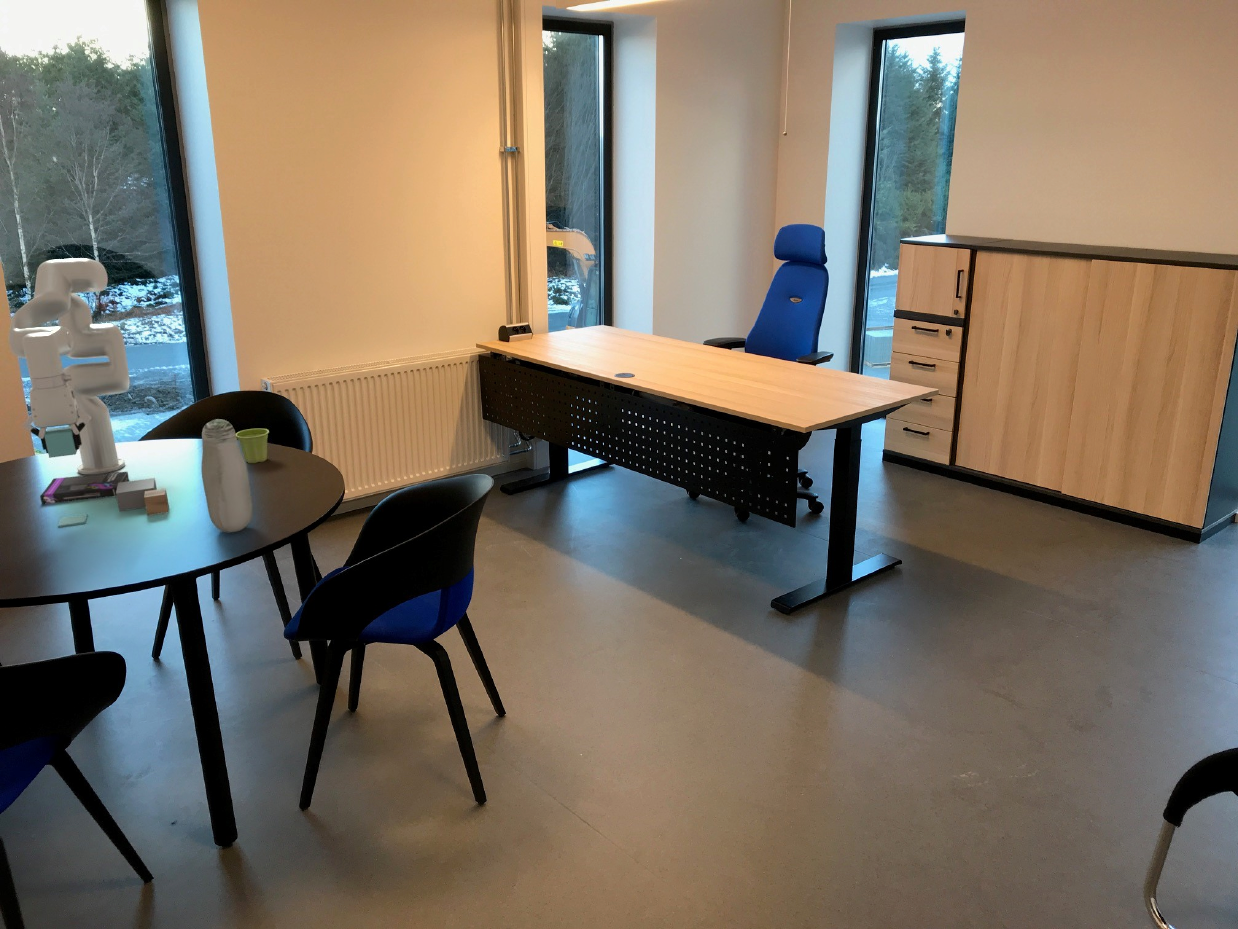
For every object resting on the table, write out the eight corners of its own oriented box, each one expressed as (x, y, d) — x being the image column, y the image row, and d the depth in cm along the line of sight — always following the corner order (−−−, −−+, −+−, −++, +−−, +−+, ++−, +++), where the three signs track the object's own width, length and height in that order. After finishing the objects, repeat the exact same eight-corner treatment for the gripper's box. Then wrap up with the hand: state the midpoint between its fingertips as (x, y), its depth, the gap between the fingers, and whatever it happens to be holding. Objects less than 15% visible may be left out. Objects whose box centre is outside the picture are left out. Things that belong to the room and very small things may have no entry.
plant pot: (249, 455, 303) (245, 428, 301) (278, 455, 302) (274, 428, 299) (234, 465, 295) (229, 437, 292) (263, 465, 293) (259, 437, 290)
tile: (61, 519, 255) (61, 517, 255) (87, 515, 257) (87, 513, 257) (58, 527, 250) (58, 525, 250) (85, 523, 252) (84, 521, 252)
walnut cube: (148, 509, 261) (144, 491, 260) (168, 506, 263) (165, 488, 261) (147, 515, 257) (143, 497, 255) (168, 512, 258) (165, 494, 257)
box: (42, 507, 267) (120, 498, 271) (39, 495, 266) (117, 486, 270) (55, 490, 280) (130, 481, 284) (53, 478, 279) (127, 469, 283)
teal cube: (52, 451, 257) (47, 428, 255) (78, 447, 259) (73, 425, 257) (49, 457, 252) (44, 435, 250) (75, 454, 254) (70, 432, 252)
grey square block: (121, 500, 268) (118, 482, 266) (158, 495, 271) (154, 477, 269) (119, 511, 260) (115, 493, 258) (156, 505, 263) (153, 488, 261)
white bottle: (254, 534, 242) (237, 424, 233) (210, 540, 239) (190, 428, 230) (256, 520, 251) (240, 413, 242) (213, 525, 248) (195, 417, 239)
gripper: (88, 374, 255) (101, 441, 261) (11, 382, 250) (27, 450, 255) (85, 381, 249) (99, 449, 255) (6, 389, 243) (23, 459, 249)
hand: (63, 449), depth 255 cm, fingers closed on teal cube, 6 cm apart
